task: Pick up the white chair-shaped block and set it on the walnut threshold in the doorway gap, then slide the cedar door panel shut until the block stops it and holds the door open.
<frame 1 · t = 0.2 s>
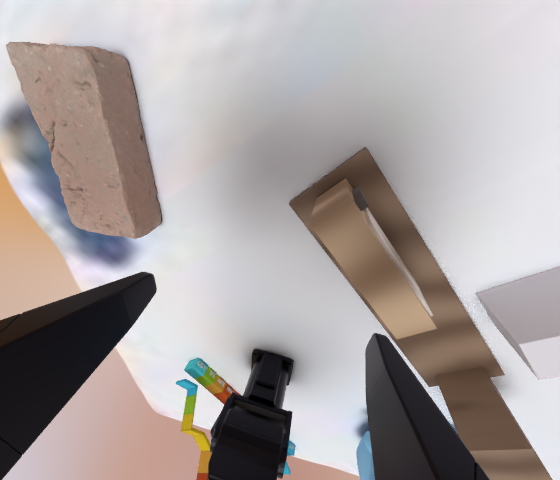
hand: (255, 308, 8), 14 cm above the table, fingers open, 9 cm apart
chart: (247, 403, 44), on the table
brick: (120, 150, 24), on the table
decorative pot: (406, 435, 36), on the table
sliding door: (373, 255, 18), point 4 cm above the table, slide at 15.0 cm
white chair-shaped block: (540, 290, 20), on the table
door frame: (403, 291, 23), on the table
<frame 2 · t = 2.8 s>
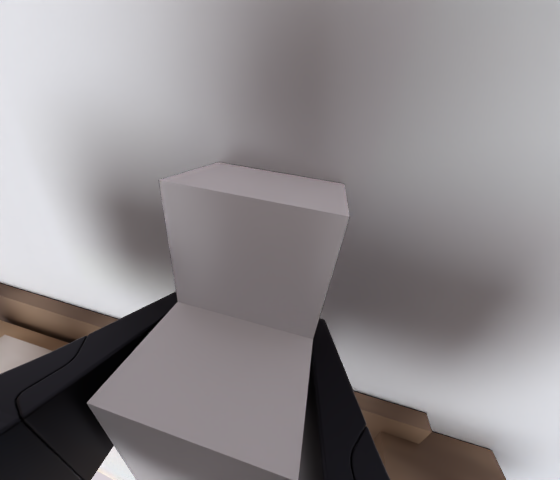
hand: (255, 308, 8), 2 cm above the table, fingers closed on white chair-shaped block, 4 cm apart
sliding door: (15, 397, 13), point 4 cm above the table, slide at 15.0 cm
white chair-shaped block: (266, 275, 10), on the table, touching gripper
door frame: (179, 372, 15), on the table
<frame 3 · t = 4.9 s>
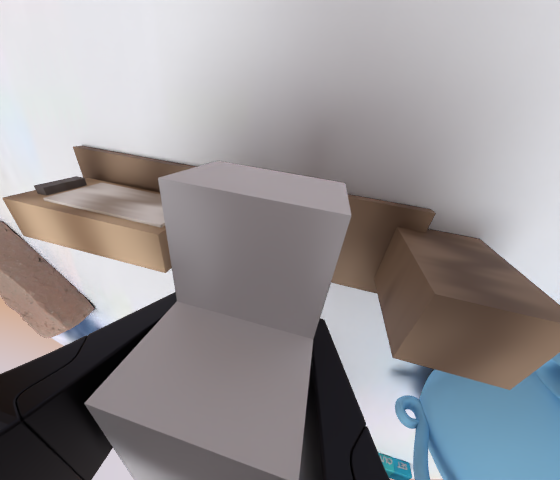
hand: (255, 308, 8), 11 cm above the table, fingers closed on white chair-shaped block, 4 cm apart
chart: (312, 431, 37), on the table
brick: (46, 273, 32), on the table
decorative pot: (489, 381, 22), on the table
sliding door: (120, 214, 17), point 4 cm above the table, slide at 15.0 cm
white chair-shaped block: (266, 274, 10), point 9 cm above the table, touching gripper
door frame: (235, 218, 20), on the table
when the fingers open (3 cm above the table, at t = 7.0 s): white chair-shaped block stays where it is, resting on door frame.
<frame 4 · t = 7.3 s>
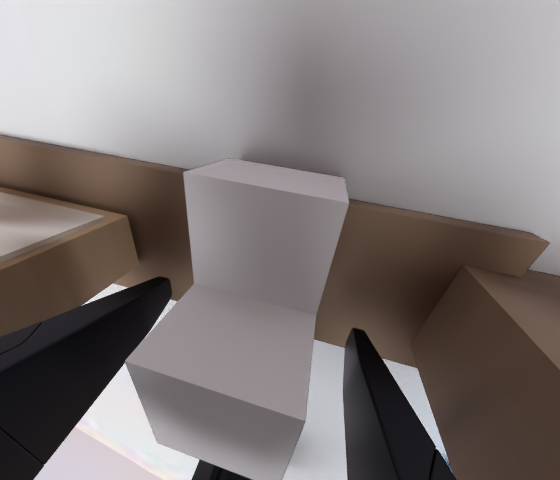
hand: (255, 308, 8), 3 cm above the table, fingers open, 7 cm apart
white chair-shaped block: (272, 263, 10), point 1 cm above the table, touching door frame
door frame: (180, 240, 12), on the table
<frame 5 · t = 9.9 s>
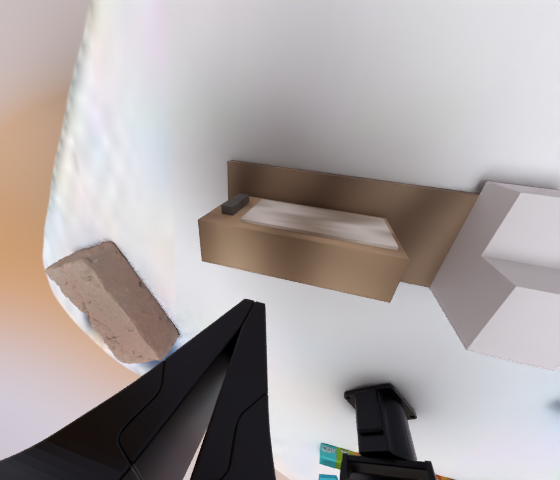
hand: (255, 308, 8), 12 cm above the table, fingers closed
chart: (418, 470, 34), on the table
brick: (133, 294, 31), on the table
sliding door: (300, 234, 15), point 4 cm above the table, slide at 15.0 cm
white chair-shaped block: (487, 247, 16), point 1 cm above the table, touching door frame
door frame: (403, 234, 18), on the table
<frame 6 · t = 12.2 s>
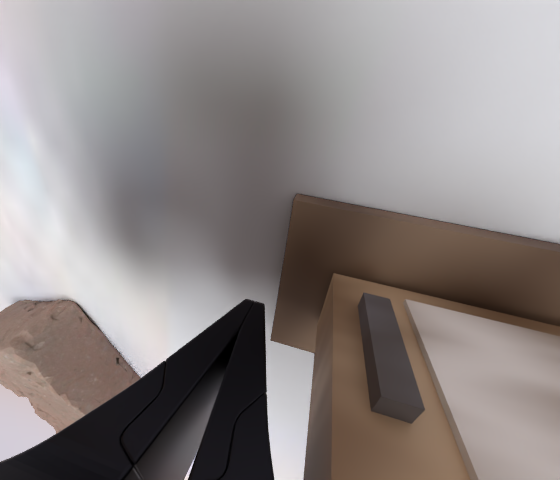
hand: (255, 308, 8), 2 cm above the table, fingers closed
brick: (106, 361, 21), on the table
sliding door: (550, 431, 6), point 4 cm above the table, slide at 13.9 cm, touching gripper
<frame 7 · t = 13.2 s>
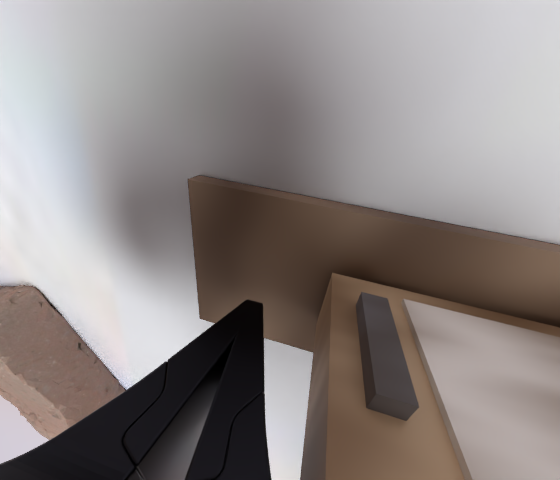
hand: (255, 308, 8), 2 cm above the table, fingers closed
brick: (72, 347, 22), on the table
sliding door: (547, 430, 6), point 4 cm above the table, slide at 9.7 cm, touching white chair-shaped block, gripper
door frame: (533, 336, 9), on the table
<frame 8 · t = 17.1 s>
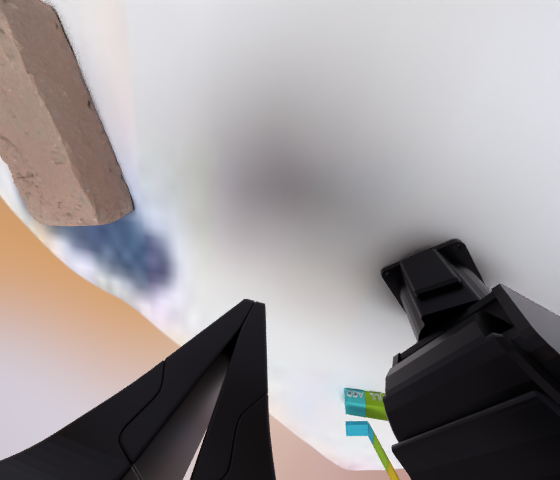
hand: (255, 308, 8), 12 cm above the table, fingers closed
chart: (475, 408, 26), on the table
brick: (75, 130, 21), on the table
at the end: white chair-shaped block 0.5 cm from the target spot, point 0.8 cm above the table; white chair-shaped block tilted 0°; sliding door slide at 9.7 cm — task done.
